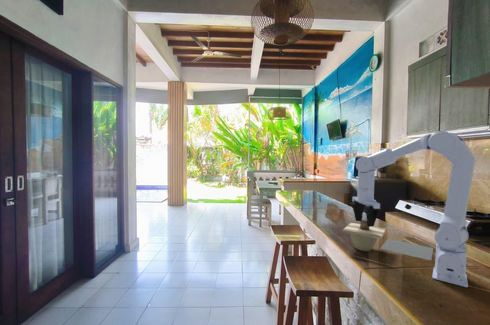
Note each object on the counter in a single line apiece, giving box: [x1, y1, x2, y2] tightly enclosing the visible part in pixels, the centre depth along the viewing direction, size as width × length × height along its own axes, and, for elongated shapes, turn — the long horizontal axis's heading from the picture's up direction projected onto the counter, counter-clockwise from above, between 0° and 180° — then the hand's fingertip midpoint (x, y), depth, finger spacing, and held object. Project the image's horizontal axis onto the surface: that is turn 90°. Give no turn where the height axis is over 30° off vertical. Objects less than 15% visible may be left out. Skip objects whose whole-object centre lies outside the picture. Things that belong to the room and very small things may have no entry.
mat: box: [379, 238, 434, 261], centre depth 99 cm, size 16×16×1 cm
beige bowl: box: [349, 233, 378, 252], centre depth 98 cm, size 10×10×7 cm
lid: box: [342, 219, 387, 240], centre depth 98 cm, size 13×13×4 cm
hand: (364, 223), depth 98 cm, fingers open, 7 cm apart
